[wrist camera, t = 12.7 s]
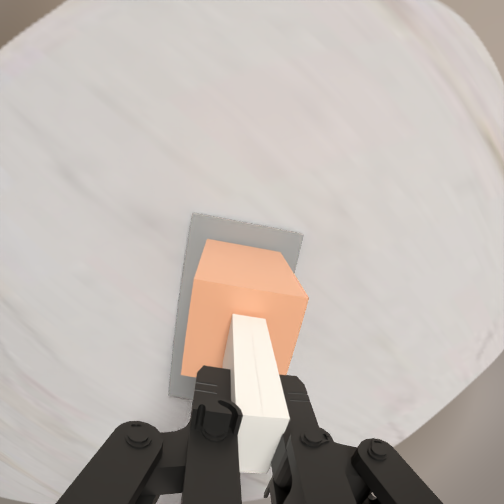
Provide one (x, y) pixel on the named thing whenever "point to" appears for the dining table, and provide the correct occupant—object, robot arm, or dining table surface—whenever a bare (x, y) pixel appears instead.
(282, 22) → the dining table surface
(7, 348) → the dining table surface
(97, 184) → the dining table surface
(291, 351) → the orange block
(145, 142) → the dining table surface
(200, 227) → the stand
